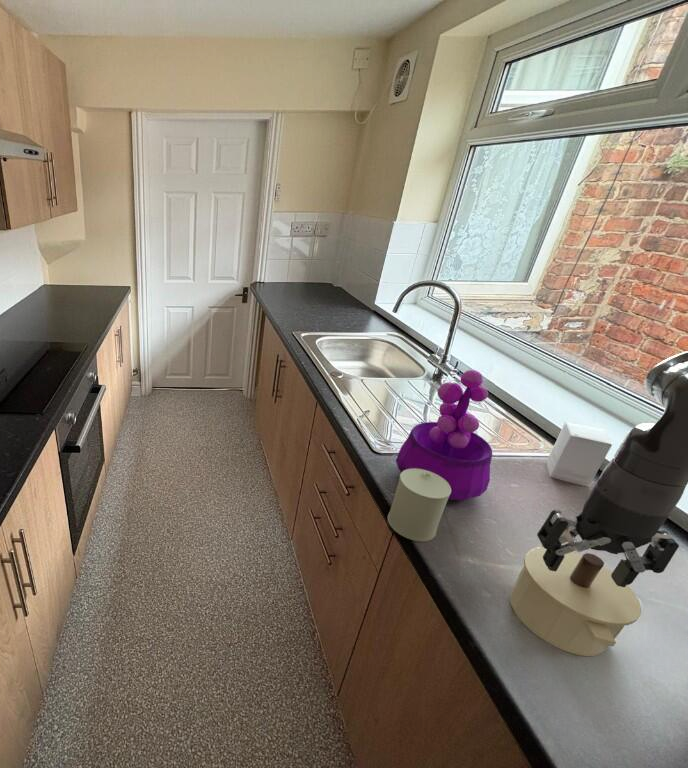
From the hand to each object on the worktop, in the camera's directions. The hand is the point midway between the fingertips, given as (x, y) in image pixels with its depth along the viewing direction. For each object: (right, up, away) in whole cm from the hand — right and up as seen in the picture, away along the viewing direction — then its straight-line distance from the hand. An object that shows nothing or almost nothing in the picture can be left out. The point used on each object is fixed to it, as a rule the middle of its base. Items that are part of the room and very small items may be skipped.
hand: (582, 574), depth 65 cm
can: (-14, 0, +23) cm, 27 cm away
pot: (0, -9, +5) cm, 10 cm away
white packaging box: (+32, +7, +37) cm, 50 cm away
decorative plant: (-1, +6, +35) cm, 36 cm away
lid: (0, -2, +1) cm, 2 cm away
